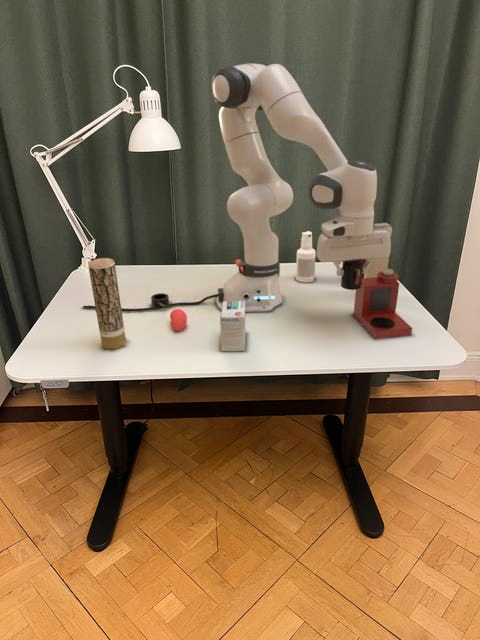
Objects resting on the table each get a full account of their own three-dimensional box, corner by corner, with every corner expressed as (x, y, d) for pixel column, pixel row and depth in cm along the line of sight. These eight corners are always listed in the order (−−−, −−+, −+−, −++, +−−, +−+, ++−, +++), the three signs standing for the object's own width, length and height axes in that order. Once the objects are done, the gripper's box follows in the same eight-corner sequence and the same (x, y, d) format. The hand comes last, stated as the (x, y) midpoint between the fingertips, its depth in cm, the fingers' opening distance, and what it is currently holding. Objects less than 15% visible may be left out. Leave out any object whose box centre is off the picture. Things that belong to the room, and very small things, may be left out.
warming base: (375, 339, 139) (379, 304, 134) (360, 323, 148) (364, 290, 143) (411, 335, 140) (416, 300, 135) (394, 319, 149) (399, 286, 144)
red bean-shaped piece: (191, 323, 153) (184, 305, 152) (189, 326, 144) (180, 307, 143) (176, 330, 153) (168, 311, 152) (173, 333, 144) (164, 313, 144)
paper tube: (114, 352, 135) (100, 268, 124) (97, 346, 138) (82, 264, 127) (131, 342, 140) (119, 260, 129) (114, 336, 143) (101, 256, 132)
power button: (385, 278, 144) (385, 272, 143) (380, 274, 147) (381, 269, 146) (394, 277, 145) (395, 271, 144) (390, 273, 147) (390, 268, 146)
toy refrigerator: (385, 302, 161) (393, 241, 151) (363, 301, 162) (369, 240, 153) (384, 293, 168) (391, 234, 158) (362, 291, 169) (368, 233, 160)
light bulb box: (223, 333, 144) (222, 300, 139) (246, 333, 143) (245, 300, 139) (221, 351, 134) (219, 316, 129) (245, 351, 134) (244, 316, 129)
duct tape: (174, 298, 167) (174, 291, 166) (168, 311, 158) (168, 303, 157) (152, 298, 168) (151, 290, 166) (145, 310, 159) (144, 302, 157)
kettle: (347, 293, 131) (349, 265, 128) (336, 281, 139) (337, 254, 136) (366, 291, 132) (369, 263, 129) (354, 279, 140) (356, 253, 136)
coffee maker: (360, 323, 148) (365, 280, 142) (353, 314, 153) (357, 273, 147) (395, 319, 149) (401, 277, 143) (387, 311, 155) (392, 270, 149)
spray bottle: (302, 284, 177) (304, 236, 169) (292, 278, 182) (293, 231, 174) (317, 280, 180) (320, 233, 171) (307, 274, 185) (309, 228, 177)
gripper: (387, 219, 132) (381, 267, 139) (315, 224, 129) (313, 273, 136) (398, 225, 127) (391, 274, 133) (323, 231, 124) (320, 281, 130)
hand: (351, 274), depth 134 cm, fingers closed on kettle, 5 cm apart
